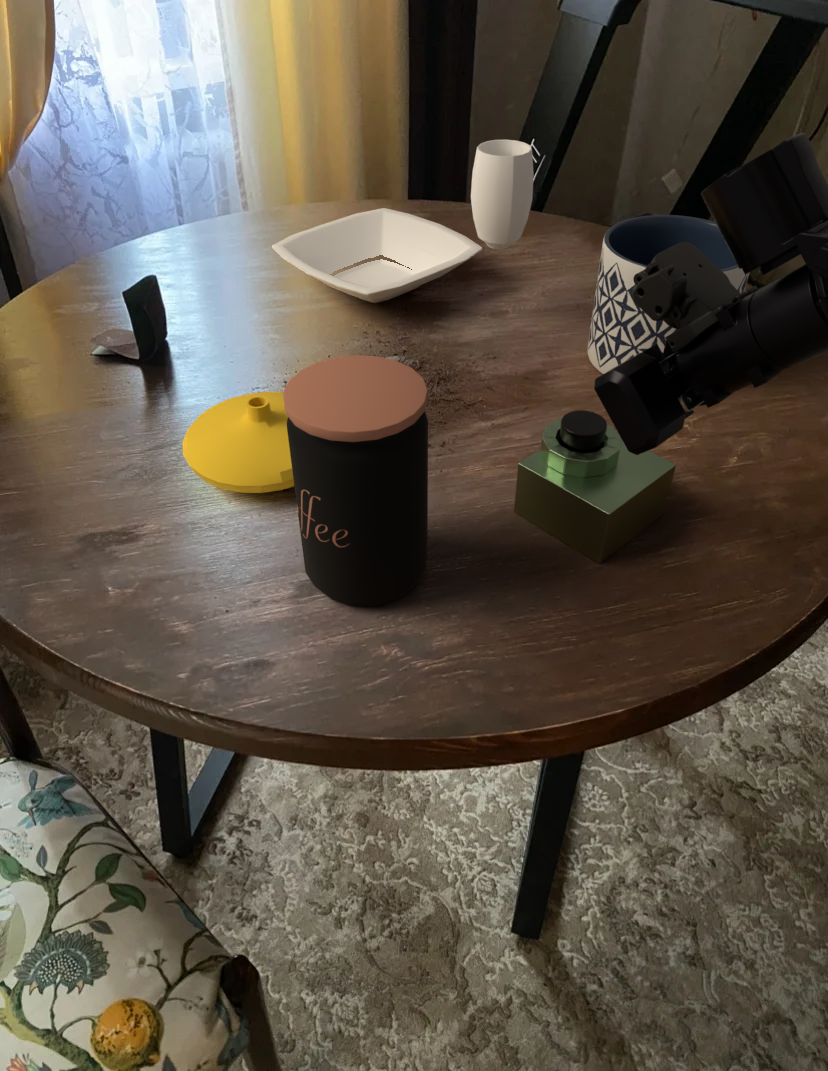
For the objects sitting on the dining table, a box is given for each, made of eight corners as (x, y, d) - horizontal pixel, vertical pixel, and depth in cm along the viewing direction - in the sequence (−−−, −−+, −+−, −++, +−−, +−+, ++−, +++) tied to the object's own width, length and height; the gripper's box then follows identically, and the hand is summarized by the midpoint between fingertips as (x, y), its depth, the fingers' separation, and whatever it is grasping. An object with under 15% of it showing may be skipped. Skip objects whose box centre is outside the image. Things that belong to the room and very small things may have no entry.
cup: (511, 301, 112) (524, 135, 98) (530, 326, 106) (545, 154, 93) (459, 307, 110) (464, 140, 97) (475, 333, 105) (483, 160, 91)
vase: (155, 485, 82) (139, 425, 78) (243, 405, 93) (233, 348, 88) (294, 528, 77) (286, 466, 73) (370, 438, 88) (367, 379, 83)
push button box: (664, 513, 79) (680, 447, 74) (599, 564, 73) (612, 497, 69) (575, 465, 84) (585, 401, 79) (509, 509, 79) (515, 444, 74)
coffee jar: (292, 543, 76) (268, 368, 64) (404, 518, 78) (401, 344, 66) (322, 626, 68) (301, 444, 56) (445, 594, 71) (449, 414, 59)
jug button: (613, 441, 75) (616, 422, 74) (585, 460, 73) (588, 440, 72) (577, 423, 77) (580, 404, 76) (549, 441, 75) (552, 422, 74)
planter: (622, 405, 93) (645, 281, 83) (565, 338, 104) (579, 223, 94) (750, 384, 96) (786, 262, 86) (680, 321, 107) (706, 208, 98)
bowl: (261, 286, 116) (256, 245, 112) (388, 240, 128) (386, 202, 124) (365, 343, 103) (363, 300, 100) (495, 287, 115) (497, 246, 111)
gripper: (790, 187, 61) (638, 285, 74) (639, 262, 51) (496, 359, 65) (860, 322, 62) (697, 395, 75) (725, 421, 52) (566, 484, 65)
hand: (618, 404), depth 70 cm, fingers closed
